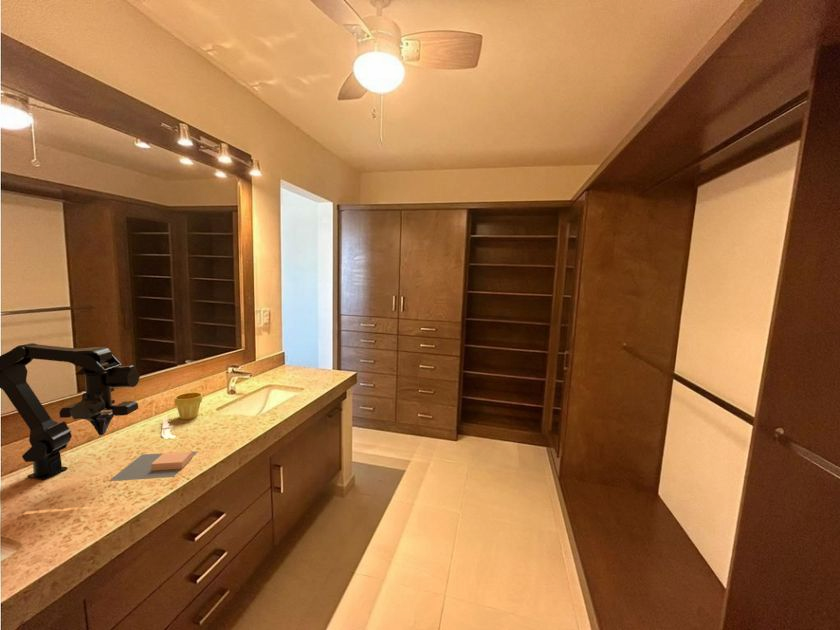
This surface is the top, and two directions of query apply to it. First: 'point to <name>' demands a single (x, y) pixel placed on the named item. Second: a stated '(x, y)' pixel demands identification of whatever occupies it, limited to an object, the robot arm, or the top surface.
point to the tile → (172, 460)
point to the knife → (166, 429)
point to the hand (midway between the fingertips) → (102, 434)
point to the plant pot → (188, 404)
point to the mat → (144, 469)
